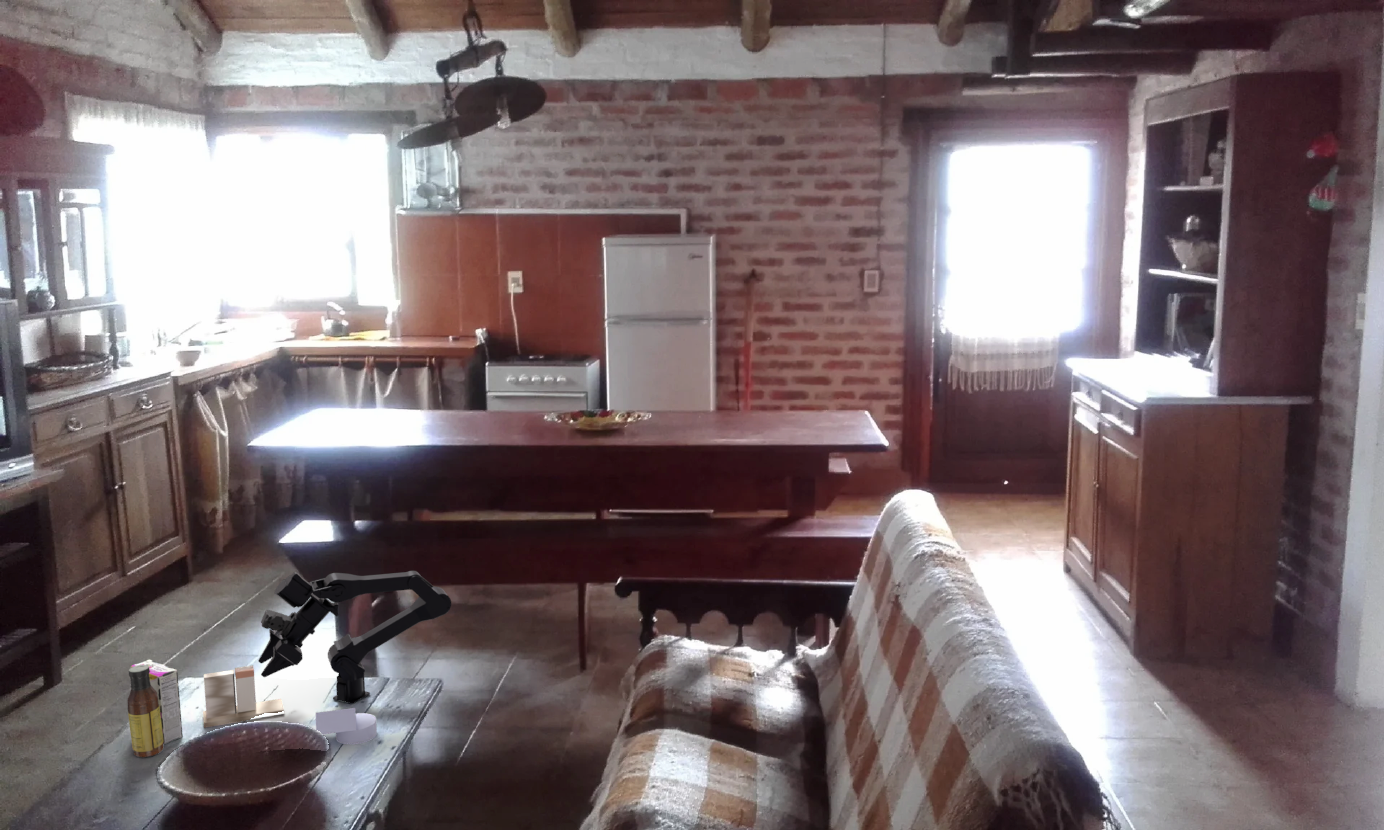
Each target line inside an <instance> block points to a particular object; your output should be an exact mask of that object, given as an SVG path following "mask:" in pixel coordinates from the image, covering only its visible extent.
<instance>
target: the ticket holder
mask: <svg viewBox="0 0 1384 830" xmlns="http://www.w3.org/2000/svg"><path fill="white" fill-rule="evenodd" d="M203 683H204V684H203V686H204V697H205V701H204V702H205V710H203V711H202V715H203V718H202V719H203V728H204V729H206V728H212V727H218V726H223V725H224V726H225V725H229V724H235V723H241V721H242V722H247V721H246V720H248V721H251V720H250V719H251V718H254V717H255V716H259V715H262V714H264V713H278V712H282V711H284V712H285V708H284V704H283V700H282V698H276V699H270V700H266V701H265V700H264V701H258V702H257V701H256V710H251V711H245V712H239V713H238V708H237V693H236V678H235V669H230V670H223V671H217V672H211V673H210V672H209V673H204V674H203Z"/></svg>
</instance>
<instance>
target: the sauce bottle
mask: <svg viewBox="0 0 1384 830" xmlns="http://www.w3.org/2000/svg"><path fill="white" fill-rule="evenodd" d="M149 672H150V670H149V666H148V665H137V666H134V667H132V668H131V667H129V669H128V676H129V678H130V691H129V696H128V698H127V714H128V715H127V716H128V724H129V731H130V738H131V748H132V751H133V755H135V756H136V757H137V758H148V757H154V756H156V755H159V754H160V753H161V752H162V751H163V750H164V744H163V742H164V740H163V732H162V724H161V716H160V707H159V704H158V696H157V692H156V691H155V689H154V688H153V687H152V686H151V683H150V679H149Z"/></svg>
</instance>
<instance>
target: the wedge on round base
mask: <svg viewBox="0 0 1384 830" xmlns="http://www.w3.org/2000/svg"><path fill="white" fill-rule="evenodd" d="M377 727H378V726H377V717H376V716H375V715H374V714H371V713H366V712H365V713H364V712H358V713H356V707H351V708H350V707H349V708H343V709H342V708H341V709H335V710H326V711H318V712H315V731H316V730H318V731H320V732H321V733H322V735H327V734H335V740H336V741H337V742H338V743H340V744H344V745H358V744H363V743H367V742H369V741H371V740H373V739H374V738H375V737H377V734H378V729H377Z"/></svg>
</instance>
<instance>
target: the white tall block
mask: <svg viewBox="0 0 1384 830" xmlns="http://www.w3.org/2000/svg"><path fill="white" fill-rule="evenodd" d="M254 669H255V668H254V665H245V666H239V667H234V679H235V694H236V706H237V708H238V713H239V712H245V711H251V710H256V703H257V700H256V684H255V670H254Z"/></svg>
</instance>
